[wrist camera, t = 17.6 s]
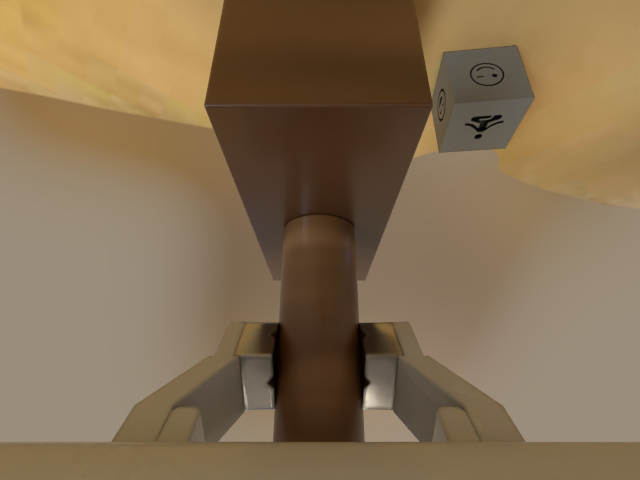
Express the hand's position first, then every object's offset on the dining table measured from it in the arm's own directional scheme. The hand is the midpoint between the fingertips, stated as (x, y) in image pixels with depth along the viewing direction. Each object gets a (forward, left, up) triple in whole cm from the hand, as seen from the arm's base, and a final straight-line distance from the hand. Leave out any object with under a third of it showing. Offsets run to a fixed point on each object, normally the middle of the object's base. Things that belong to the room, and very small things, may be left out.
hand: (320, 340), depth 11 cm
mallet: (0, 0, -7) cm, 7 cm away
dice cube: (-14, +4, -21) cm, 26 cm away
